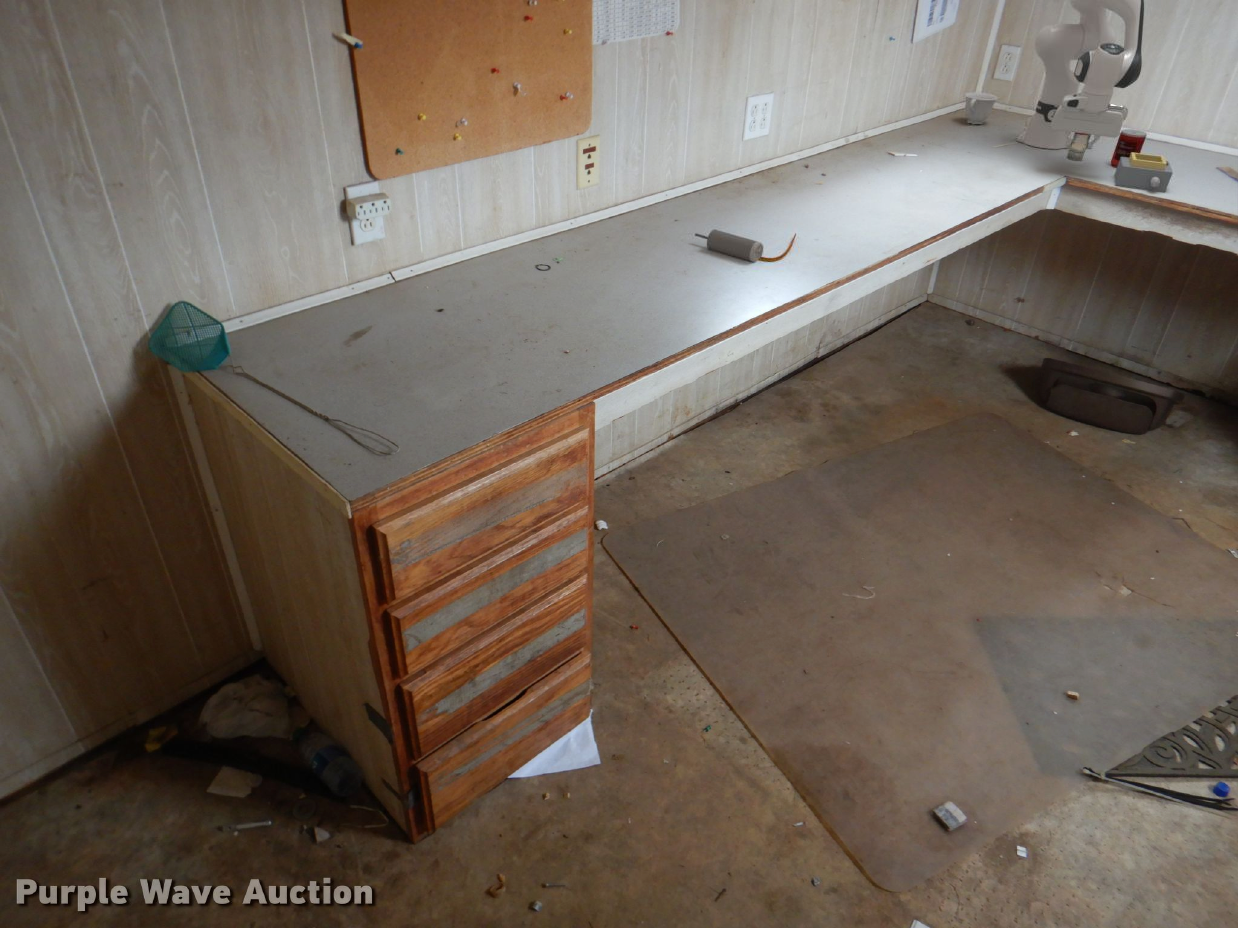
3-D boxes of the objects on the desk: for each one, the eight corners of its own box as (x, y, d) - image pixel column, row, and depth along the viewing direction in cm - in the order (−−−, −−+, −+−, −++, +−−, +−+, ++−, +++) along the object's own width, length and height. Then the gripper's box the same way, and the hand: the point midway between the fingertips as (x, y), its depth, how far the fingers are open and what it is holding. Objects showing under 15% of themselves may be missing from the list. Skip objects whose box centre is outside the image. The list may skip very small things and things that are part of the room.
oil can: (1066, 155, 280) (1075, 129, 275) (1082, 158, 279) (1091, 131, 274) (1066, 160, 277) (1075, 133, 272) (1082, 162, 275) (1091, 135, 270)
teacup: (950, 124, 330) (957, 96, 325) (965, 118, 340) (972, 91, 334) (981, 130, 324) (988, 102, 318) (995, 123, 334) (1002, 96, 328)
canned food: (1129, 163, 292) (1141, 129, 286) (1138, 170, 285) (1151, 136, 279) (1106, 162, 292) (1117, 128, 286) (1114, 168, 286) (1126, 134, 280)
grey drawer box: (1114, 175, 279) (1123, 150, 275) (1161, 182, 275) (1171, 156, 270) (1116, 188, 268) (1125, 162, 263) (1166, 195, 263) (1176, 168, 259)
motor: (764, 268, 206) (769, 247, 204) (688, 245, 217) (691, 225, 215) (807, 256, 223) (812, 237, 221) (735, 236, 234) (738, 217, 232)
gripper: (1129, 104, 266) (1113, 149, 275) (1059, 95, 273) (1045, 140, 281) (1130, 109, 262) (1113, 155, 270) (1058, 100, 268) (1044, 145, 276)
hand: (1078, 147), depth 275 cm, fingers closed on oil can, 5 cm apart
